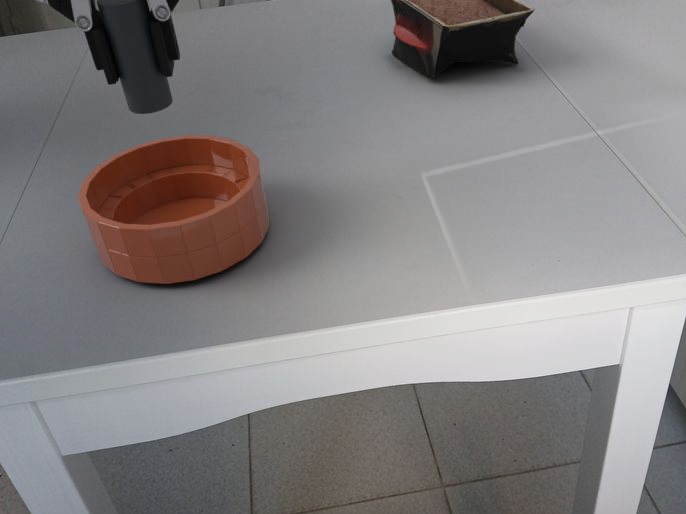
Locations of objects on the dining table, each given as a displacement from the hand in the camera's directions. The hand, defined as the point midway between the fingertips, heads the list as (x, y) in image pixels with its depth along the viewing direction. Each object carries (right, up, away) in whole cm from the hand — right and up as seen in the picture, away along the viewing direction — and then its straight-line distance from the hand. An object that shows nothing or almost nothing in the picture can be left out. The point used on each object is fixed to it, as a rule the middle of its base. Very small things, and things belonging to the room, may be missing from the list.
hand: (141, 71), depth 56 cm
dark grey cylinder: (0, -2, +2) cm, 3 cm away
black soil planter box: (+29, +15, +35) cm, 48 cm away
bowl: (+1, -11, +10) cm, 15 cm away
